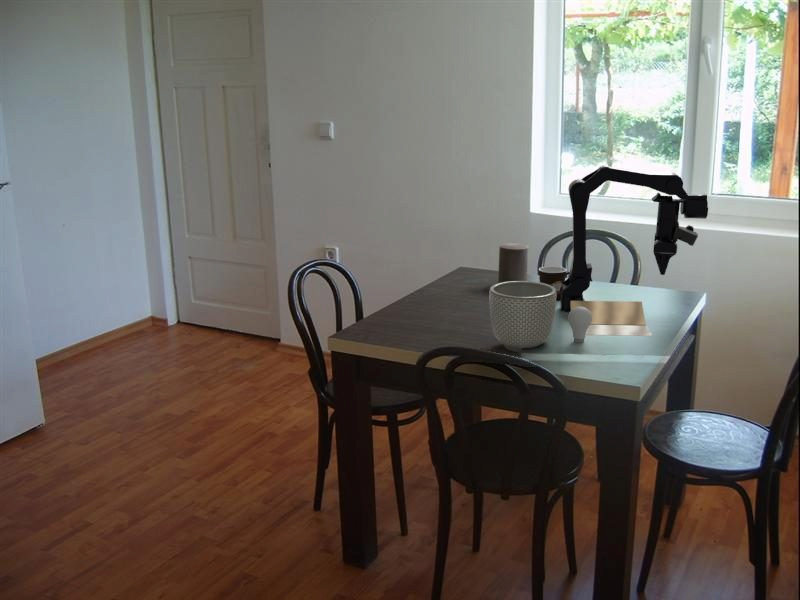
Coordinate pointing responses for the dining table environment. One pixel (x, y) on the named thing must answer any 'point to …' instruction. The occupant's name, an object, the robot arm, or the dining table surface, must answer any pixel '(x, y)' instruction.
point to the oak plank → (613, 312)
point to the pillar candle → (513, 262)
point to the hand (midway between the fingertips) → (662, 271)
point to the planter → (522, 313)
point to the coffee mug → (553, 278)
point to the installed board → (618, 330)
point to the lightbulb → (579, 322)
